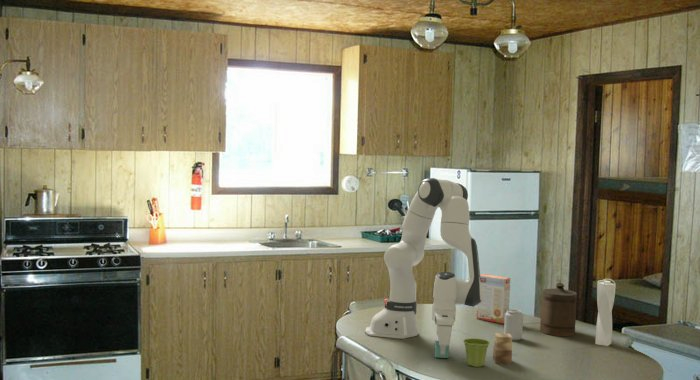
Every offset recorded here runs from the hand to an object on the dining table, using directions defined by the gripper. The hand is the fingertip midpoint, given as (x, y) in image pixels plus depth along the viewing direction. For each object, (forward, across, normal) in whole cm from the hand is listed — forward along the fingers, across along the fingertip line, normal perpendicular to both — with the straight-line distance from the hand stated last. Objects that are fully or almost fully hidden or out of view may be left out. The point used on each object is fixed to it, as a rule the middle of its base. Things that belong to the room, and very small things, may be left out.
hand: (442, 351), depth 278 cm
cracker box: (+2, -65, +28) cm, 71 cm away
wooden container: (+2, -49, +54) cm, 73 cm away
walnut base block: (+2, +2, +22) cm, 23 cm away
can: (+2, -33, +32) cm, 46 cm away
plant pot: (+2, +8, +12) cm, 14 cm away
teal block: (+2, 0, 0) cm, 2 cm away
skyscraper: (+2, -32, +69) cm, 76 cm away
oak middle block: (-3, +2, +22) cm, 23 cm away
